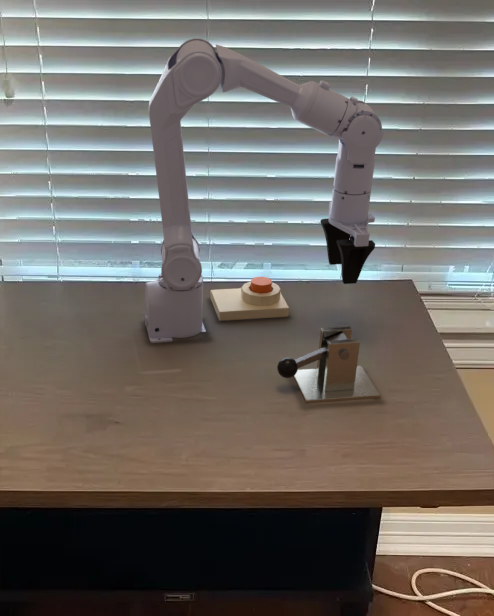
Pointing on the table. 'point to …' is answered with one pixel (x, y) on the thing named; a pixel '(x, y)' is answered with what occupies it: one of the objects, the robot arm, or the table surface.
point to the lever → (304, 359)
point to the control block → (248, 303)
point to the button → (261, 285)
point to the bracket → (336, 372)
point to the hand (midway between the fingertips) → (342, 273)
